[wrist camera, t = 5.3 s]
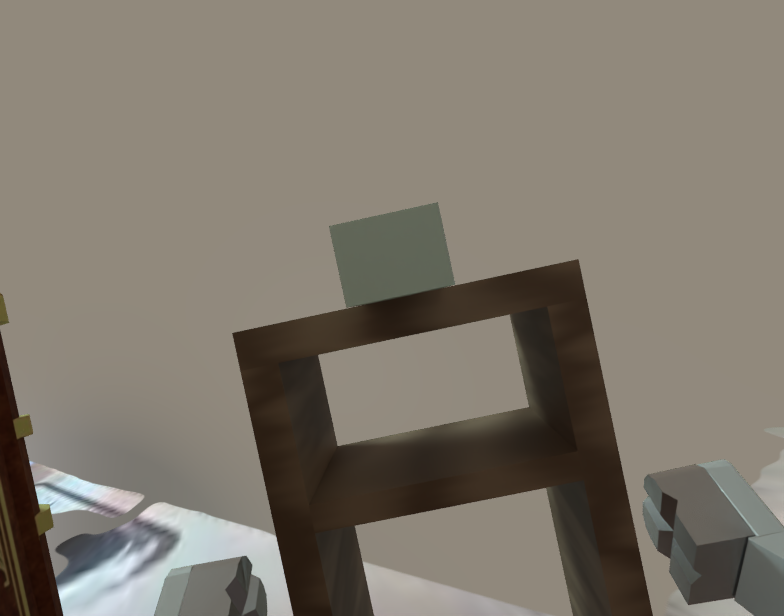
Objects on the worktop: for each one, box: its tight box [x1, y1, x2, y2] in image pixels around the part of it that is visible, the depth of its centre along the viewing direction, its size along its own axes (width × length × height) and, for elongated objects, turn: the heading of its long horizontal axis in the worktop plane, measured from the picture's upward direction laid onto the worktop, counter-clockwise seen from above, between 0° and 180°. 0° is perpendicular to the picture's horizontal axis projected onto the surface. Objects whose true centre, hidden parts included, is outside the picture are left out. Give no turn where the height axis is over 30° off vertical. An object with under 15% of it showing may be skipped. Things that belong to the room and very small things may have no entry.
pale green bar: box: [329, 203, 455, 307], centre depth 29 cm, size 4×19×3 cm, turn 178°
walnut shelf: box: [232, 259, 653, 616], centre depth 33 cm, size 18×11×26 cm, turn 88°
